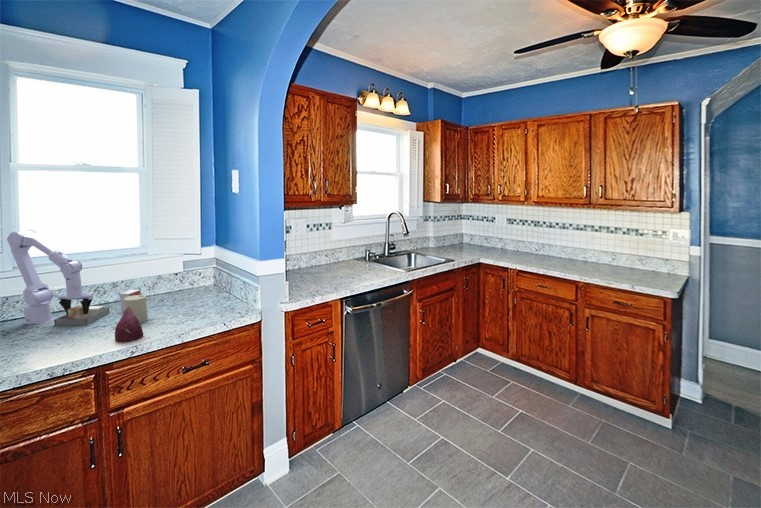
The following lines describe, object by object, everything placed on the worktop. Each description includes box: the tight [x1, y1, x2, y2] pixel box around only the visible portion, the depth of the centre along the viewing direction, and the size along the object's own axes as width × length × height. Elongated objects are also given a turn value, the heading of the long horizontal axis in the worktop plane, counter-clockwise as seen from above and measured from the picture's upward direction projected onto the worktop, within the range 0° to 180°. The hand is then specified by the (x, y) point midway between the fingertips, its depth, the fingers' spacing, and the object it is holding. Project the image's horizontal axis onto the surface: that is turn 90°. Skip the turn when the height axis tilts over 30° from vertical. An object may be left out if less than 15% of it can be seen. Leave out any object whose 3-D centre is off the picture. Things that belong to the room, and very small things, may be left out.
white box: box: [87, 305, 105, 317], centre depth 198 cm, size 10×5×4 cm, turn 95°
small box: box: [119, 289, 142, 313], centre depth 207 cm, size 8×6×10 cm
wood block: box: [68, 304, 88, 319], centre depth 189 cm, size 4×6×7 cm
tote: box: [53, 306, 110, 327], centre depth 193 cm, size 14×18×4 cm
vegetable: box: [114, 306, 144, 344], centre depth 172 cm, size 10×10×15 cm
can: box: [124, 294, 149, 323], centre depth 193 cm, size 9×9×12 cm
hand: (77, 314), depth 189 cm, fingers open, 7 cm apart
